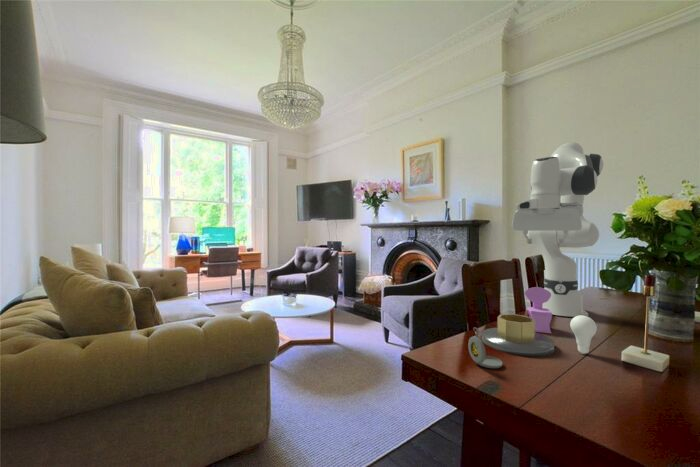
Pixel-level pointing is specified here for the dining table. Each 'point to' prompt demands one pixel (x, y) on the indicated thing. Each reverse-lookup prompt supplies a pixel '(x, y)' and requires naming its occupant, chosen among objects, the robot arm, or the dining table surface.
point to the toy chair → (539, 308)
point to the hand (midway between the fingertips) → (545, 244)
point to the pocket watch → (481, 353)
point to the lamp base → (517, 337)
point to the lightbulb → (583, 332)
